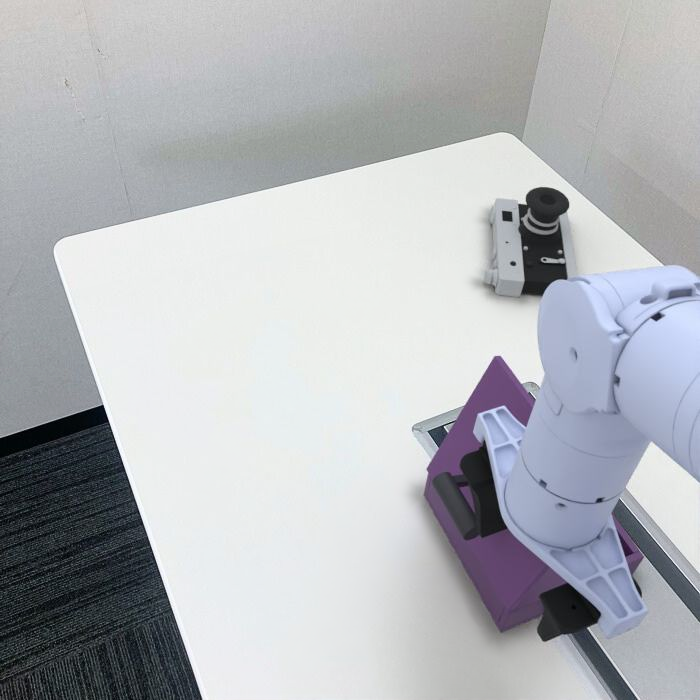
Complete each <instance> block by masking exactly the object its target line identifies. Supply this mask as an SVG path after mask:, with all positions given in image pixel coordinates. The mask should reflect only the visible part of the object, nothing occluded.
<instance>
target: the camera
mask: <svg viewBox="0 0 700 700" xmlns="http://www.w3.org/2000/svg"><path fill="white" fill-rule="evenodd" d="M569 209H570V201H569V198H568V197H567V196H566V195H565V193H563V192H562V191H560V190H558V189H557V188H553V187H548V186H539V187H534V188H532V189H530V190H529V191H528V192H527V193H526V195H525V203H519V200H518V199H511V198H501V197H496V198H495V200H494V204H493V205H491V207H490V215H489V222H490V224H491V225H492V227H491V228H492V248H493V250H492V255H491V260H493V262H492V267H491V268H490V269H486V270H485V273H484V278H483V283H485V284H487V285H492V286H493V287H494V293H495V295H497V296H503V297H515V298H519V297H521V294H532V295H533V294H534V295H542V296H543V294H544V292H545V290H546V289H547V287H548V286H549V285H550V284H551V283H552V282H554V281H556V280H567V279H568V278H570V277H573V276H578V271H577V264H576V263H577V262H576V258H575V252H574V245H573V237H572V233H571V226H570V220H569V213H568V210H569Z"/></svg>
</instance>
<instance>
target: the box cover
mask: <svg viewBox="0 0 700 700" xmlns="http://www.w3.org/2000/svg"><path fill="white" fill-rule="evenodd" d="M535 401H536V400H534V399H533V397H532V396H531V395H530V393H529V391H527V389H526V387H524V385H523V384H522V383H521V381H520V380H519V378H518V377H517V375H516V374H515V373H514V372H513V370H512V369H511V368H510V367H509V365H508V363H507V362H506V361H505V360H504V358H503V357H502V355H494V356H493V358H492V359H491V361H490V363H489V364H488V366H487V368H486V369H485V371H484V372H483V374H482V376H481V378H480V380H479V381H478V383H477V384H476V386H475V388H474V389H473V390H472V393H471V394H470V396H469V397H468V399H467V400H466V403H465V404H464V405H463V407H462V409H461V410H460V413H459V414H458V416H457V418H455V421H454V422H453V424H452V426H451V427H450V429H449V431H448V432H447V434H446V435H445V437H444V438H443V440H442V442H441V443H440V445H439V447H438V448H437V450H436V452H435V454H434V455H433V457H432V459H431V460H430V461H429V464H428V465H427V467H426V471H427V474H428V473H429V475H430V477H431V478H432V485H433V487H434V489H435V490H436V492H437V494H438V496H439V497H440V499H441V501H442V503H443V504H444V506H445V508H446V510H447V511H448V513H449V515H450V517H451V518H452V520H453V522H454V524H455V525H456V527H457V529H458V531H459V532H460V534H461V536H462V538H463V539H464V540H467V541H468V543H469V545H470V546H471V548H472V550H473V552H474V553H475V555H476V557H477V559H478V560H479V562H480V564H481V566H482V567H483V569H484V571H485V573H486V574H487V576H488V578H489V580H490V581H491V583H492V585H493V586H494V588H495V590H496V592H497V593H498V595H499V597H500V599H501V600H502V602H503V604H504V606H505V607H506V609H507V611H510V610H514V608H515V607H516V606H517V605H518V604H519V603H520V602H521V600H522V599H523V598H524V597H525V596H526V595H527V593H528V592H529V591H530V590H531V589H532V588H533V587H534V585H535V584H536V583H537V582H538V581H539V580H540V578H541V577H542V576H543V575H544V574H545V573H546V572H547V570H548V569H549V568H550V567H549V566H548V565H547V564H546V563H545V562H543V561H542V560H541V559H540V558H539V557H538V556H536V555H535V554H534V553H533V552H532V551H531V550H530V549H528V548H527V547H526V546H525V545H524V544H523V543H521V542H520V541H519V540H518V539H517V538H516V537H515V536H514V535H513V534H512V533H511V531H510V530H509V529H508V528H507V529H505V530H503V531H500V532H497V533H495V534H492V535H489V536H487V537H484V538H481V536H480V534H479V533H478V531H477V527H476V520H475V511H474V504H473V498H472V494H471V490H470V487H469V484H468V482H467V479H466V477H465V475H464V474H463V472H462V471H461V469H460V467H459V465H460V461H461V459H462V457H463V456H464V455H466V454H468V453H471V452H474V451H477V450H479V447H481V446H482V445H483V443H480V442H479V441H478V439H477V438H476V436H475V435H474V433H473V430H474V426H475V422H476V419H477V415H478V414H479V413H482V412H485V411H488V410H491V409H494V408H497V407H501V406H506V408H507V409H508V410H509V412H510V413H511V414H512V415H513V416H514V417H515V418H516V419H517V420H518V421H519V422H520V423H521V424H522V425H524V426H525V427H527V424H528V421H529V418H530V415H531V412H532V409H533V407H534V404H535Z"/></svg>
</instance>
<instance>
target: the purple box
mask: <svg viewBox="0 0 700 700" xmlns="http://www.w3.org/2000/svg"><path fill="white" fill-rule="evenodd" d="M423 496H424V499H425V500H426V502H427V504H428V505H429V507H430V510H431V511H432V512H433V514H434V516H435V519H436V520H437V522H438V523H439V525H440V527H441V529H442V531H443V532H444V535H445V536H446V537H447V540H448V542H449V543H450V545H451V547H452V549H453V550H454V552H455V554H456V555H457V557H458V559H459V561H460V563H461V565H462V566H463V568H464V570H465V572H466V574H467V575H468V577H469V579H470V581H471V582H472V584H473V586H474V588H475V590H476V591H477V593H478V595H479V597H480V599H481V600H482V602H483V604H484V606H485V607H486V609H487V611H488V613H489V615H490V617H491V618H492V620H493V623H494V624H495V625H496V627H497V629H498V631H499V633H504V632H506V631H509V630H511V629H513V628H516V627H518V626H521V625H523V624H525V623H528V622H530V621H532V620H534V619H535V620H536V619H537V618H540V617H542V616H543V611H544V610H543V603H542V602H541V600H540V598H539V595H540V594H541V593H543V592H546V591H548V590H551V589H553V588H556V587H558V586H560V585H563V584H565V583H568V582H567V581H566V580H564V579H563V578H562V577H561V576H560V575H559V574H557V573H556V572H555V571H554V570H553V569H552V568H549V569H548V570H547V572H546V573H545V574H544V575H543V576H542V577H541V578H540V580H539V581H538V582H537V583H536V584H535V585H534V587H533V588H532V589H531V590H530V591H529V592H528V593H527V595H526V596H525V597H524V598H523V599H522V600H521V602H520V603H519V604H518V605H517V606H516V607H515V608H514V610H510V611H507V609H506V607H505V606H504V604H503V602H502V600H501V599H500V597H499V595H498V593H497V592H496V590H495V588H494V586H493V585H492V583H491V581H490V580H489V578H488V576H487V574H486V573H485V571H484V569H483V567H482V566H481V564H480V562H479V560H478V559H477V557H476V555H475V553H474V552H473V550H472V548H471V546H470V545H469V543H468V541H467V540H464V539H463V538H462V536H461V534H460V532H459V531H458V529H457V527H456V525H455V524H454V522H453V520H452V518H451V517H450V515H449V513H448V511H447V510H446V508H445V506H444V504H443V503H442V501H441V499H440V497H439V496H438V494H437V492H436V490H435V489H434V487H433V485H432V478H431V477H430V475H429V473H428V472H427V477H426V481H425V487H424V491H423ZM611 515H612V518H613V521H614V524H615V527H616V530H617V533H618V536H619V539H620V543H621V546H622V549H623V552H624V555H625V558H626V561H627V564H628V567H629V570H630V573H631V575H632V576H633V575H634V573H635V572H636V570H637V569H638V568H639V566H640V565H641V564H642V562H643V560H644V559H645V556H644V555H643V553H642V552H641V550H640V549H639V547H638V546H637V545H636V543H635V542H634V540H633V539H632V538H631V536H630V535H629V534H628V532H627V531H626V530H625V528H624V527H623V526H622V525H621V522H619V520H618V519H617V517H616V516H615V515H614V514H613V512H612V513H611Z"/></svg>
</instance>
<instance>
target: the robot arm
mask: <svg viewBox="0 0 700 700" xmlns="http://www.w3.org/2000/svg"><path fill="white" fill-rule="evenodd" d="M536 335H537V336H536V337H537V347H538V352H539V358H540V362H541V367H542V370H543V373H544V375H543V378H542V380H541V382H540V383H541V384H540V387H539V389H538V392H537V395H536V398H535V400H534V401H535V404H534V407H533V409H532V412H531V415H530V418H529V421H528V424H527V427H525V426H524V425H522V424H521V423H520V422H519V421H518V420H517V419H516V418H515V417H514V416H513V415H512V414H511V413H510V412H509V410H508V409H507V408H506V406H501V407H497V408H494V409H491V410H488V411H485V412H482V413H479V414H478V415H477V419H476V422H475V426H474V430H473V433H474V435H475V436H476V438H477V439H478V441H479V442H480V443H483V445H482V446H481V447H479V450H477V451H474V452H471V453H468V454H466V455H464V456H463V457H462V459H461V461H460V465H459V467H460V469H461V471H462V472H463V474H464V475H465V477H466V479H467V482H468V484H469V487H470V490H471V494H472V498H473V504H474V511H475V520H476V527H477V531H478V533H479V534H480V536H481V538H484V537H487V536H489V535H492V534H495V533H497V532H500V531H503V530H505V529H507V528H508V529H509V530H510V531H511V533H512V534H513V535H514V536H515V537H516V538H517V539H518V540H519V541H520V542H521V543H523V544H524V545H525V546H526V547H527V548H528V549H530V550H531V551H532V552H533V553H534V554H535V555H536V556H538V557H539V558H540V559H541V560H542V561H543V562H545V563H546V564H547V565H548V566H549V567H550V568H552V569H553V570H554V571H555V572H556V573H557V574H559V575H560V576H561V577H562V578H563V579H564V580H566V581H567V582H568V583H565V584H563V585H560V586H558V587H556V588H553V589H551V590H548V591H546V592H543V593H541V594H540V595H539V598H540V600H541V602H542V603H543V610H544V611H543V615H542V616H541V619H540V621H539V622H538V624H537V627H536V632H537V634H538V636H539V638H540V640H541V642H543V643H546V642H549V641H551V640H553V639H556V638H558V637H560V636H562V635H563V636H567V635H571V634H574V633H578V632H581V631H583V630H585V629H587V628H590V627H592V626H594V625H597V626H598V628H599V629H600V631H601V632H602V634H603V636H604V637H605V638H606V639H607V640H611V639H613V638H615V637H618V636H621V635H622V634H625V633H627V632H629V631H631V630H633V629H635V628H638V627H639V625H640V624H641V623H642V621H643V620H644V619H645V617H646V616H647V615H648V613H649V612H650V609H649V607H648V606H647V604H646V603H645V602H644V600H643V592H642V587H640V585H639V583H638V582H637V581H636V579H635V578H634V576H633V575H631V573H630V570H629V567H628V564H627V561H626V558H625V555H624V552H623V549H622V546H621V543H620V539H619V536H618V533H617V530H616V527H615V524H614V521H613V518H612V515H611V513H612V514H613V511H614V509H615V508H616V505H617V504H618V502H619V500H620V499H621V497H622V495H623V493H624V491H625V489H626V487H627V485H628V484H629V482H630V480H631V478H632V476H633V475H634V473H635V471H636V470H637V468H638V466H639V464H640V462H641V461H642V458H643V457H644V455H645V453H646V451H647V449H648V448H649V446H650V444H651V442H652V444H654V445H655V446H656V447H657V448H658V449H659V450H660V451H662V452H663V453H664V454H665V455H667V456H668V457H669V458H670V459H671V460H673V461H674V462H675V463H676V464H677V465H678V466H679V467H680V468H682V469H683V470H684V471H685V472H686V473H687V474H689V475H690V476H691V477H693V479H695V481H697V482H698V483H699V484H700V276H699V275H696V274H695V273H694V272H693V271H691V270H690V269H688V268H687V267H685V266H682V265H678V264H668V265H658V266H651V267H643V268H632V269H624V270H616V271H615V270H614V271H606V272H598V273H597V272H596V273H590V274H581V275H577V276H573V277H570V278H568V279H567V280H556V281H554V282H552V283H551V284H550V285H549V286H548V287H547V289H546V290H545V292H544V294H543V295H542V296H541V299H540V302H539V307H538V312H537V323H536Z"/></svg>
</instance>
